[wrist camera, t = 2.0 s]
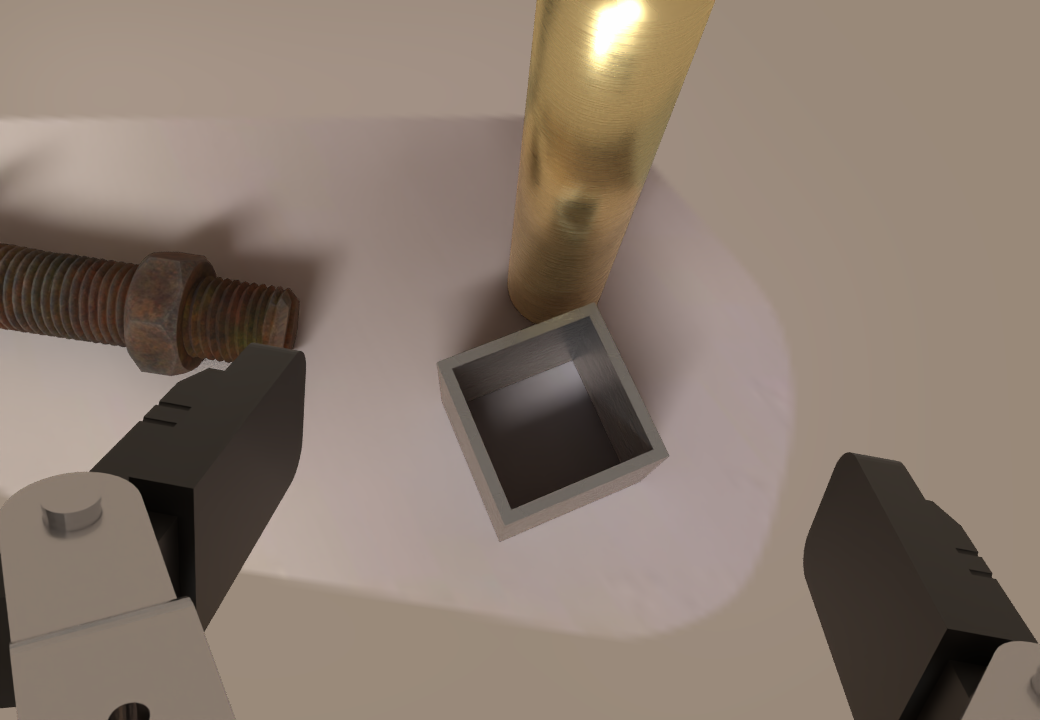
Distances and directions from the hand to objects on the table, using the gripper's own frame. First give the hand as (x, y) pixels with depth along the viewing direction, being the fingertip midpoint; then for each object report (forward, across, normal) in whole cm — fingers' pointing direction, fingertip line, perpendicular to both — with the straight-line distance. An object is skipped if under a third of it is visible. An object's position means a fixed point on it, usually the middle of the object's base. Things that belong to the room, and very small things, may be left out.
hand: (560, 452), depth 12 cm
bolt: (+19, +17, +10) cm, 27 cm away
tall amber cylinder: (+22, 0, +6) cm, 23 cm away
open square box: (+17, 0, +10) cm, 20 cm away
